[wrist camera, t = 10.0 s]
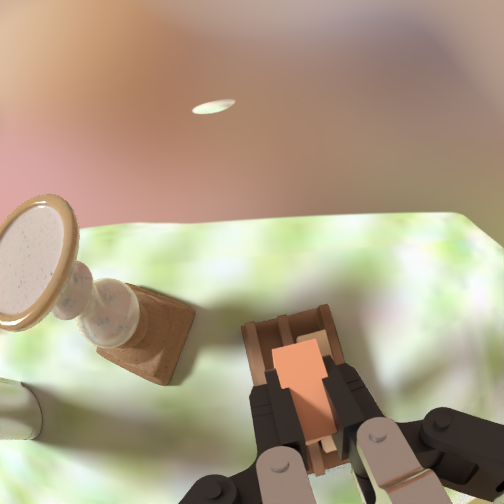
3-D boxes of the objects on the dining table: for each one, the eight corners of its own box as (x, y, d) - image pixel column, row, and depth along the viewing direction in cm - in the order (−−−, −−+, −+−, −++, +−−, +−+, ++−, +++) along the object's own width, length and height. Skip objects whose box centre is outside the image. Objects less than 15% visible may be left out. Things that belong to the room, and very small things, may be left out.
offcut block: (331, 384, 30) (339, 383, 26) (306, 391, 30) (311, 391, 26) (318, 336, 33) (325, 329, 29) (294, 343, 33) (297, 336, 29)
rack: (363, 453, 27) (375, 460, 23) (276, 478, 27) (277, 489, 23) (326, 308, 36) (333, 297, 32) (241, 328, 36) (238, 320, 32)
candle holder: (129, 285, 39) (23, 181, 18) (197, 310, 37) (108, 200, 16) (101, 354, 35) (-37, 297, 13) (167, 387, 33) (31, 368, 11)
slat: (309, 444, 18) (344, 429, 8) (289, 449, 18) (295, 443, 8) (299, 405, 21) (315, 338, 10) (279, 410, 20) (271, 349, 10)
